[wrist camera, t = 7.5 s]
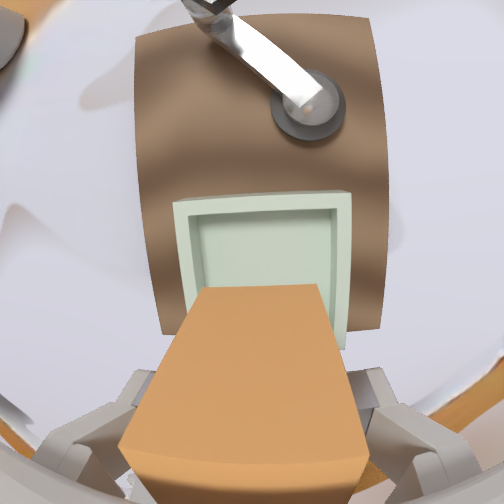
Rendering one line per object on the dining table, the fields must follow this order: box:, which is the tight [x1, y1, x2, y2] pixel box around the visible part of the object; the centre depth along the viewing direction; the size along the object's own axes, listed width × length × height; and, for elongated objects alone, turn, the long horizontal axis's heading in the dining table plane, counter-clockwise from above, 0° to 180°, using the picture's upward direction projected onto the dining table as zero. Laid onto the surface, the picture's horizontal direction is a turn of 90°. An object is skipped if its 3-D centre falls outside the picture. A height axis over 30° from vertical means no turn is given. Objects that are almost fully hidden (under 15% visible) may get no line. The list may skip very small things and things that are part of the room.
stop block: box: [118, 284, 370, 504], centre depth 7 cm, size 4×4×7 cm
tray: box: [172, 190, 352, 350], centre depth 18 cm, size 10×10×2 cm
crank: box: [181, 0, 339, 127], centre depth 12 cm, size 11×3×6 cm, turn 45°
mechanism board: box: [134, 14, 389, 335], centre depth 18 cm, size 22×16×2 cm
